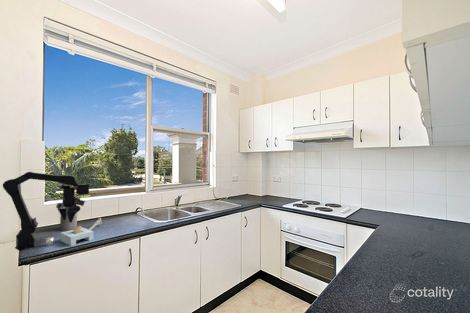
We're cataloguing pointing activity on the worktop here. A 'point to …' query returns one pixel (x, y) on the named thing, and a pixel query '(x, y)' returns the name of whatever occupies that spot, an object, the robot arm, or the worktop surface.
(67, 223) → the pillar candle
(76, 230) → the maple pin
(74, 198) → the robot arm
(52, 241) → the aluminium pin
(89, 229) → the caliper
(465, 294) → the worktop surface
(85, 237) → the bridge jig
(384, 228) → the worktop surface
